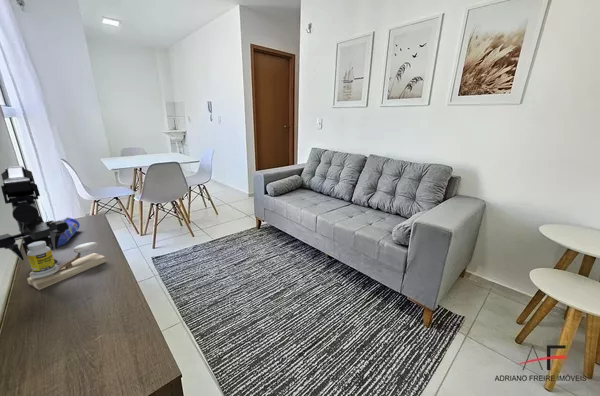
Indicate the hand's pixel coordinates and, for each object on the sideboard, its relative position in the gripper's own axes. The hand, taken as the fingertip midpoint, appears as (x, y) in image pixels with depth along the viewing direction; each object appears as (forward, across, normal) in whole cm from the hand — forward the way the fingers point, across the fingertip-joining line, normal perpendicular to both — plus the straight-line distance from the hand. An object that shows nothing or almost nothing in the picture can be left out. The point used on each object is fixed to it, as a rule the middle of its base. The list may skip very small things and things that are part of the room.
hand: (39, 254), depth 93 cm
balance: (+12, +7, 0) cm, 13 cm away
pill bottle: (+7, 0, 0) cm, 7 cm away
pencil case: (+12, +22, +40) cm, 47 cm away
